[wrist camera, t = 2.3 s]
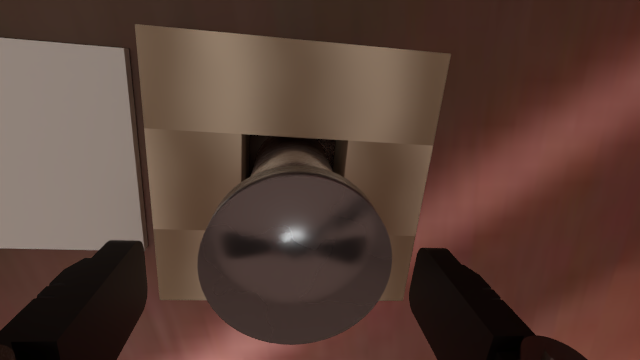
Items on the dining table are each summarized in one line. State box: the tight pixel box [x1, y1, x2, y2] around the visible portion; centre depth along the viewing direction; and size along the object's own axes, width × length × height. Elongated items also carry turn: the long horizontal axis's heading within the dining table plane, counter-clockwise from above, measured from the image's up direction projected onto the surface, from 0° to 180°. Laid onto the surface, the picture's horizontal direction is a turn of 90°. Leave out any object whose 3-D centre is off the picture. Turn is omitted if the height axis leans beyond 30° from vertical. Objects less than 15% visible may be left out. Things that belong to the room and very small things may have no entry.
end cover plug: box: [197, 136, 392, 345], centre depth 16 cm, size 6×6×11 cm
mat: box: [0, 38, 148, 251], centre depth 19 cm, size 10×12×1 cm
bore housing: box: [135, 24, 451, 301], centre depth 19 cm, size 14×14×4 cm
